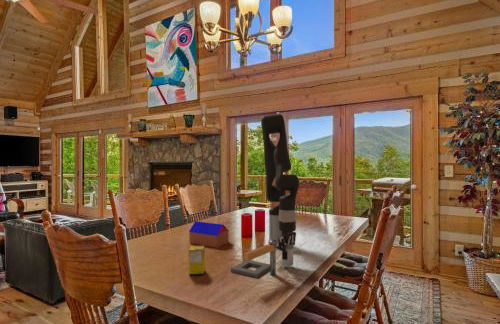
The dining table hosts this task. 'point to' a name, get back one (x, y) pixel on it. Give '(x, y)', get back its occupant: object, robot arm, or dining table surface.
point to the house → (208, 234)
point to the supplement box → (196, 260)
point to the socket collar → (253, 273)
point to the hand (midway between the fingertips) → (287, 257)
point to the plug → (289, 256)
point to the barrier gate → (263, 250)
